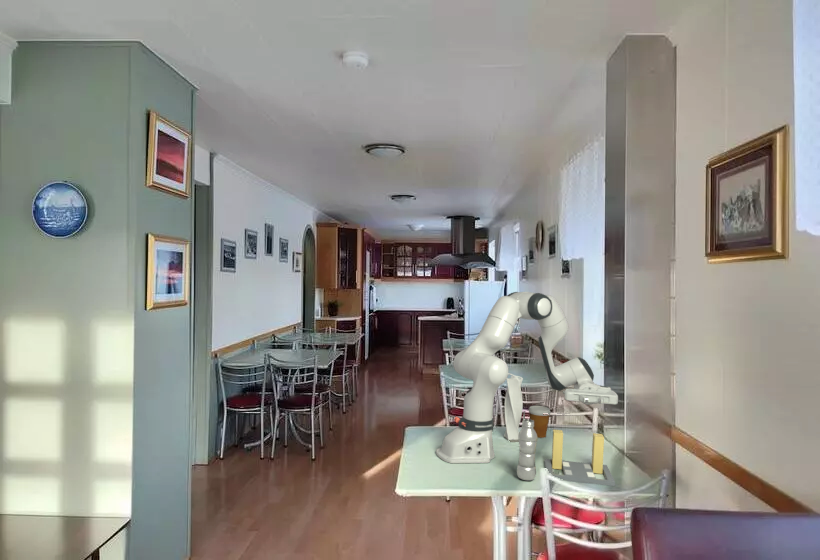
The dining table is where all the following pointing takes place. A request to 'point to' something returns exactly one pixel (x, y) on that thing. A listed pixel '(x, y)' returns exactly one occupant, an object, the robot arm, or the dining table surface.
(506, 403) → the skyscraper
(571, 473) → the switch bank
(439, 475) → the dining table surface
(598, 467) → the yellow bar
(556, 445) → the yellow rectangular block
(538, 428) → the disposable coffee cup
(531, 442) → the plastic bottle
